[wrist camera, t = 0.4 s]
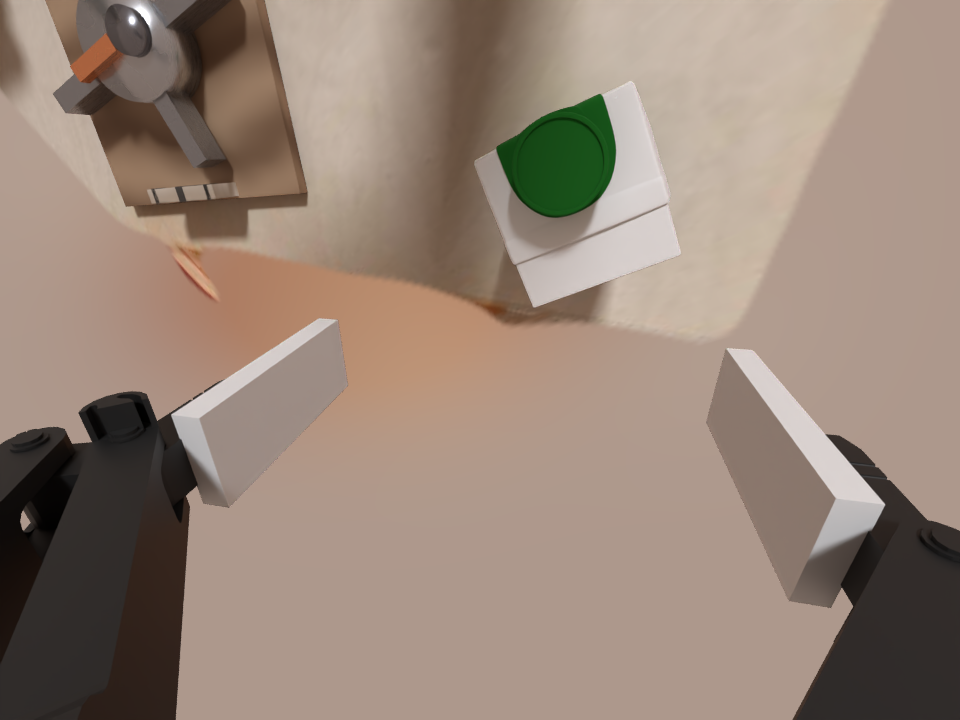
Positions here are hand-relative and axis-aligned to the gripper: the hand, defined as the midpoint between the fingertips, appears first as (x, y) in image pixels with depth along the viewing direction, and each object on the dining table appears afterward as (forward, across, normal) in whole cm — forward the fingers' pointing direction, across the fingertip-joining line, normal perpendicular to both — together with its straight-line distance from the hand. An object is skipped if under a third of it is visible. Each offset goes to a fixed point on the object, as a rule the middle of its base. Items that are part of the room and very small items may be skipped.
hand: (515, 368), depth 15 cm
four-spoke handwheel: (+25, -34, +14) cm, 45 cm away
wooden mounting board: (+27, -34, +14) cm, 46 cm away
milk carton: (+27, +2, +4) cm, 27 cm away
